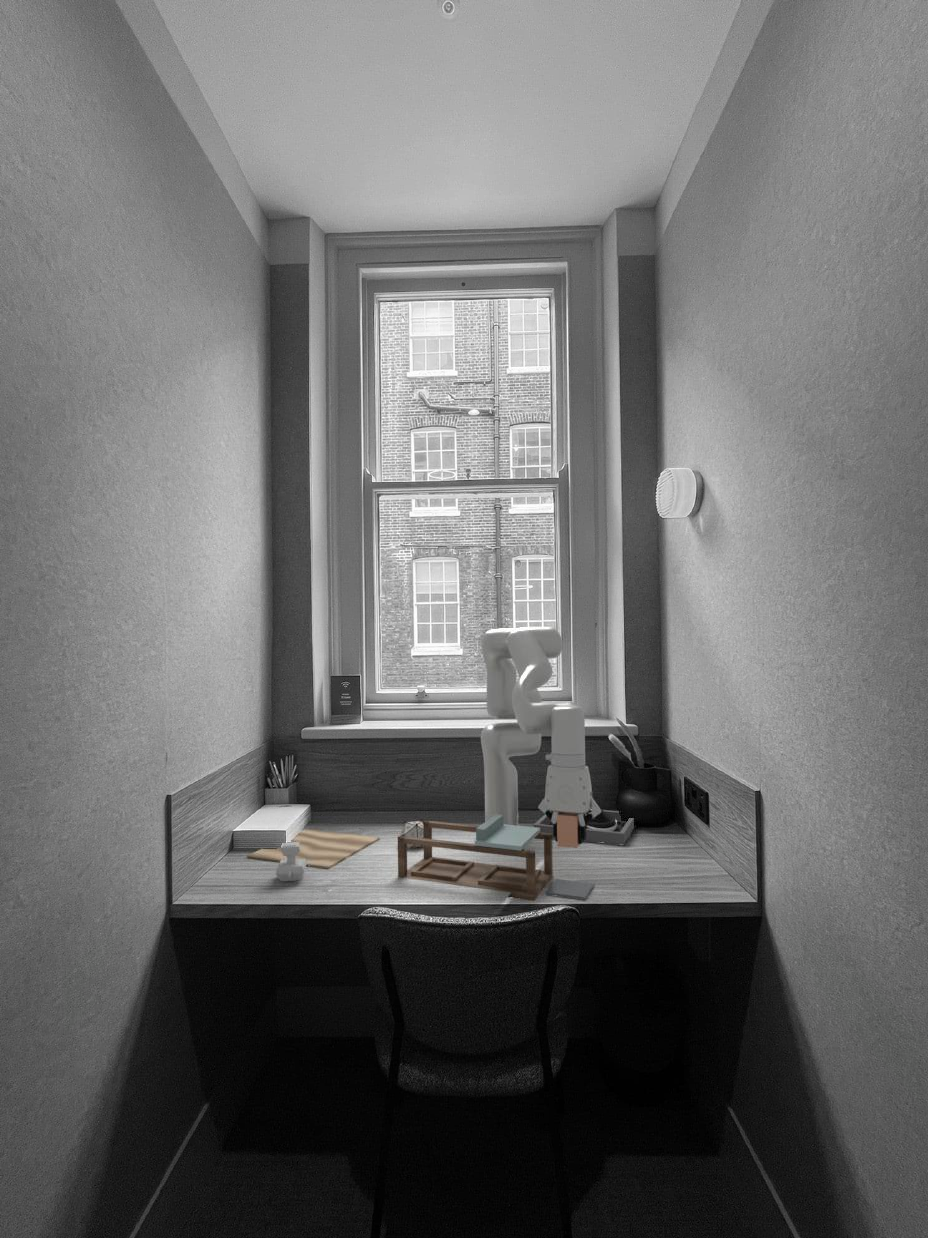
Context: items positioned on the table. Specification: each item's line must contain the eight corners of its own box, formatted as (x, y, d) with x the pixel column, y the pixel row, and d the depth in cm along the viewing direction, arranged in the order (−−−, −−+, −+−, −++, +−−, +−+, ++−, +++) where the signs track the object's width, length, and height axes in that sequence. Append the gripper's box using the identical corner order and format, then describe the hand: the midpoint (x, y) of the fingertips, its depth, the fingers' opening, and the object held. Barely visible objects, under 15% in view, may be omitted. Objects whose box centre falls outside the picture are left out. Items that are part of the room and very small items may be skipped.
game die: (407, 864, 193) (385, 833, 195) (428, 846, 199) (407, 816, 200) (422, 855, 187) (399, 823, 188) (443, 836, 193) (421, 806, 194)
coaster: (555, 881, 169) (555, 878, 169) (594, 886, 166) (594, 883, 166) (545, 894, 161) (545, 892, 161) (585, 900, 157) (585, 897, 157)
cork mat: (305, 830, 213) (305, 829, 213) (379, 839, 203) (379, 837, 203) (247, 857, 189) (247, 855, 189) (328, 869, 179) (328, 867, 179)
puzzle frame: (426, 861, 184) (426, 820, 184) (552, 877, 172) (552, 833, 172) (398, 881, 170) (397, 837, 170) (533, 901, 157) (533, 853, 157)
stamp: (303, 885, 169) (303, 849, 169) (274, 886, 168) (274, 850, 168) (307, 872, 178) (307, 837, 178) (280, 873, 177) (279, 839, 177)
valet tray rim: (554, 816, 225) (554, 805, 225) (637, 823, 216) (636, 813, 216) (533, 836, 205) (533, 824, 205) (623, 845, 195) (623, 833, 195)
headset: (572, 792, 223) (634, 809, 213) (568, 816, 223) (631, 835, 213) (549, 804, 208) (615, 824, 198) (546, 830, 209) (612, 851, 199)
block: (562, 840, 166) (562, 810, 166) (581, 842, 164) (581, 811, 164) (557, 846, 162) (556, 815, 162) (577, 848, 160) (576, 816, 160)
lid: (497, 827, 177) (496, 813, 177) (540, 832, 173) (540, 817, 173) (474, 845, 163) (474, 830, 163) (521, 850, 159) (520, 835, 159)
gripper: (527, 761, 163) (529, 842, 163) (602, 765, 157) (603, 850, 156) (537, 755, 170) (538, 833, 170) (609, 759, 164) (610, 840, 163)
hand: (569, 840), depth 163 cm, fingers closed on block, 4 cm apart
